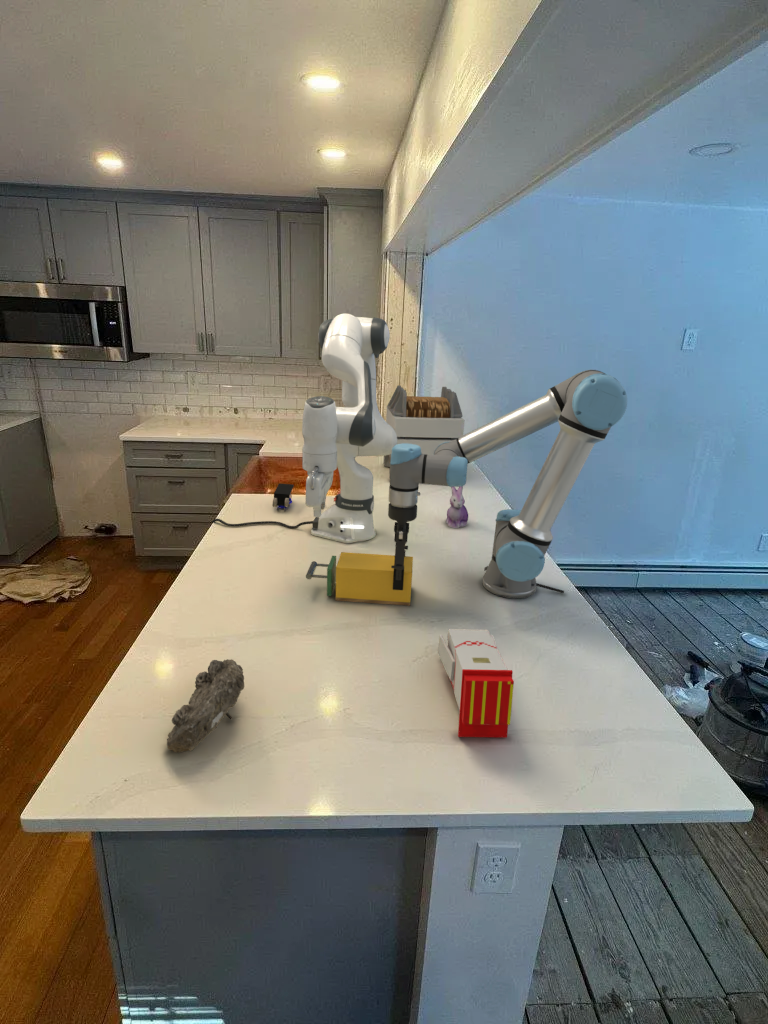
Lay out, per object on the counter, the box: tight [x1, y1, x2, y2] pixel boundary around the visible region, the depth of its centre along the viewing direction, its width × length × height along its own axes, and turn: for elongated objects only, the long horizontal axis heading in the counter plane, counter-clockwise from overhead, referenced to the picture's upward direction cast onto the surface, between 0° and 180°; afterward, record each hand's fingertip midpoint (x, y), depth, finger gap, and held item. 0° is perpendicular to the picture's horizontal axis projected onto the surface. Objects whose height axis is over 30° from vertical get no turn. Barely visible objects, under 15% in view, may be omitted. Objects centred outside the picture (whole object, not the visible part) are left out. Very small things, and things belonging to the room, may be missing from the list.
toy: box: [437, 628, 515, 738], centre depth 117 cm, size 12×13×30 cm
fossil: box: [166, 658, 245, 754], centre depth 106 cm, size 22×10×15 cm
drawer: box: [305, 555, 337, 597], centre depth 156 cm, size 25×9×8 cm, turn 86°
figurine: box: [445, 486, 469, 529], centre depth 209 cm, size 9×10×15 cm
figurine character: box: [272, 483, 295, 512], centre depth 220 cm, size 7×8×15 cm
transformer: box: [383, 384, 465, 479], centre depth 268 cm, size 34×33×41 cm
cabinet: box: [335, 551, 414, 607], centre depth 155 cm, size 20×10×10 cm, turn 86°
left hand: (319, 512), depth 150 cm, fingers open, 4 cm apart
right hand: (398, 580), depth 155 cm, fingers closed on cabinet, 10 cm apart
